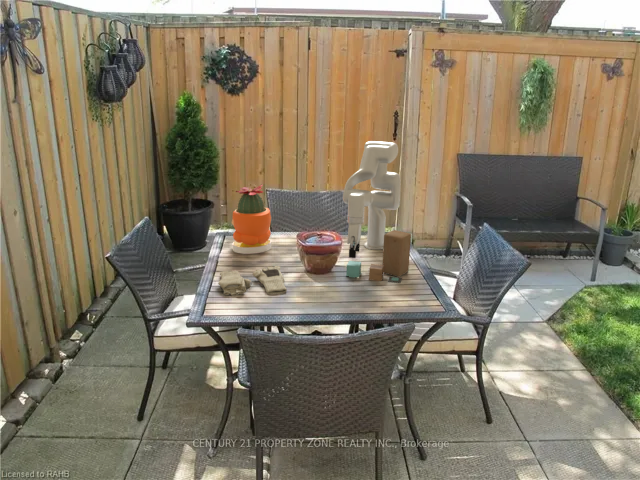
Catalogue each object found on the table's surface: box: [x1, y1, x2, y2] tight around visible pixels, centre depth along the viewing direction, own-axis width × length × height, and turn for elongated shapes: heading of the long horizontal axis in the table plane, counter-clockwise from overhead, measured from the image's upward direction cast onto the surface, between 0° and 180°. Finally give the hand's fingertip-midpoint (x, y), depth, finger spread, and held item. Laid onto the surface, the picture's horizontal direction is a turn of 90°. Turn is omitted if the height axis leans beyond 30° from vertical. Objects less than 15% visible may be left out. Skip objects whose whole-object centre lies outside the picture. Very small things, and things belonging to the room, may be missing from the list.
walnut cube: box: [368, 263, 384, 282], centre depth 255 cm, size 6×6×6 cm
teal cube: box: [345, 260, 362, 278], centre depth 259 cm, size 6×6×6 cm
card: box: [387, 275, 403, 284], centre depth 254 cm, size 6×6×1 cm
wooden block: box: [381, 229, 412, 278], centre depth 261 cm, size 10×10×20 cm
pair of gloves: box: [218, 265, 288, 297], centre depth 247 cm, size 30×26×5 cm
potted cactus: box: [231, 184, 272, 255], centre depth 287 cm, size 22×22×35 cm
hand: (354, 254), depth 256 cm, fingers open, 9 cm apart
